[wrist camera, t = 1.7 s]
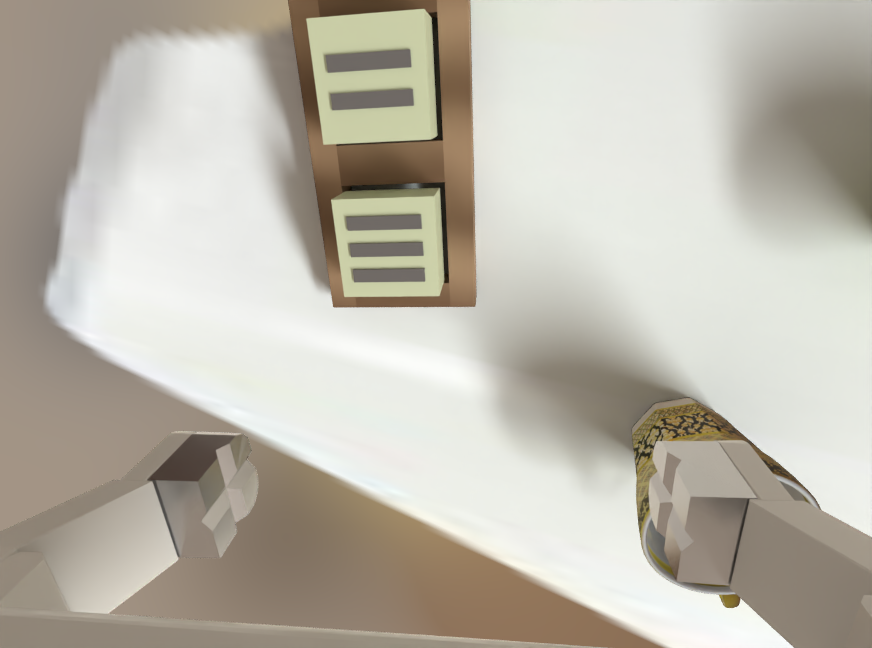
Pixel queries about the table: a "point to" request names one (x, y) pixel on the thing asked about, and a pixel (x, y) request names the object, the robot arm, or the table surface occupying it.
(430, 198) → the tile three
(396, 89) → the tile two
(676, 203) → the table surface
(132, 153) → the table surface
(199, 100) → the table surface
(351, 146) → the frame
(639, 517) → the ceramic cup
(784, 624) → the robot arm
